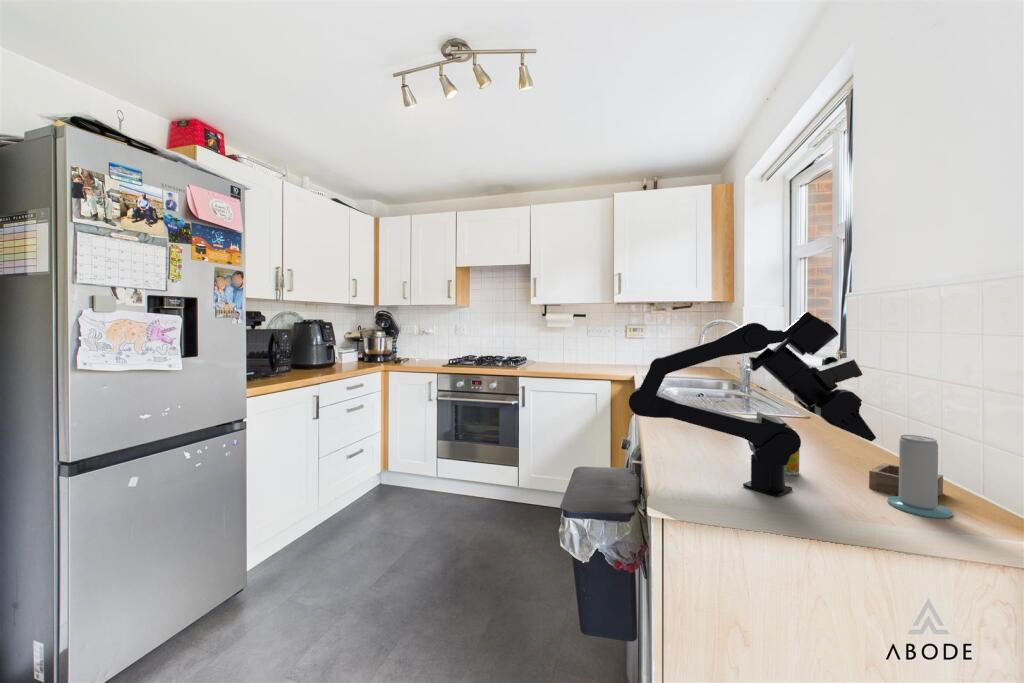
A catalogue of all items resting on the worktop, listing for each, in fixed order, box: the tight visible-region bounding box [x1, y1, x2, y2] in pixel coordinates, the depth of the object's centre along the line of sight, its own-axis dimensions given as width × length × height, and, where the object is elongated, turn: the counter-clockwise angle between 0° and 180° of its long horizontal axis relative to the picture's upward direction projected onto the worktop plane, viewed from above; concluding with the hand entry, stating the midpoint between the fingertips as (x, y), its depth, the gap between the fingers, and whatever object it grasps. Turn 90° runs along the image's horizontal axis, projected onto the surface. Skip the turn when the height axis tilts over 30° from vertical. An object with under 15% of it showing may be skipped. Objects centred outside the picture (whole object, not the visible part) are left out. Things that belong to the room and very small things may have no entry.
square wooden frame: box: [868, 463, 944, 497], centre depth 78 cm, size 9×9×4 cm
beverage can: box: [898, 434, 939, 510], centre depth 70 cm, size 5×5×12 cm
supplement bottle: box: [785, 427, 801, 476], centre depth 89 cm, size 5×5×10 cm
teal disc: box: [887, 495, 953, 519], centre depth 70 cm, size 8×8×1 cm
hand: (862, 433), depth 73 cm, fingers open, 9 cm apart
